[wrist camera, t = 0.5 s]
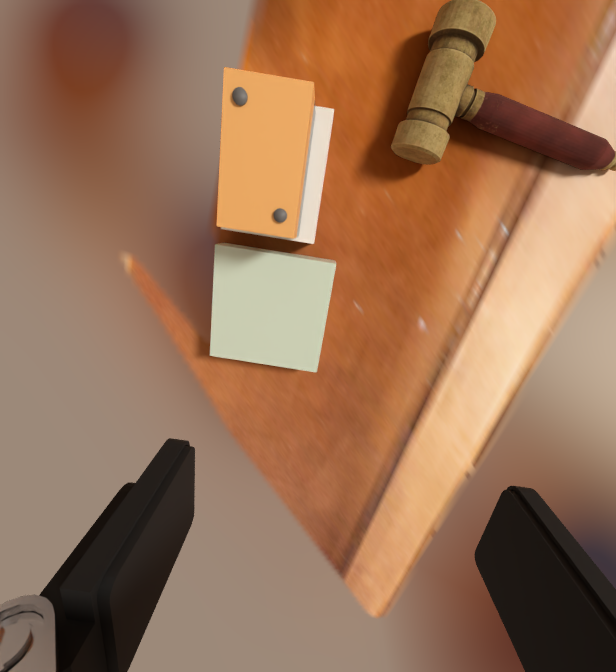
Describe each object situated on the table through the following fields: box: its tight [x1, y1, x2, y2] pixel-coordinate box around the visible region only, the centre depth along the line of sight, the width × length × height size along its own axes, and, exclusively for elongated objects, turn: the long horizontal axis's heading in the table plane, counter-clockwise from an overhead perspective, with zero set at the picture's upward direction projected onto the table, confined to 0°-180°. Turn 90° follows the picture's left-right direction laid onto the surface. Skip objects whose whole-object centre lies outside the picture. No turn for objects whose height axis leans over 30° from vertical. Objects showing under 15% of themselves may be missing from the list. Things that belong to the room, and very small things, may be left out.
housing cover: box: [217, 67, 315, 239], centre depth 23 cm, size 10×6×3 cm, turn 171°
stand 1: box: [221, 106, 334, 244], centre depth 29 cm, size 11×9×3 cm
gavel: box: [391, 0, 616, 171], centre depth 27 cm, size 21×5×10 cm
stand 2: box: [210, 243, 336, 372], centre depth 33 cm, size 12×12×3 cm
